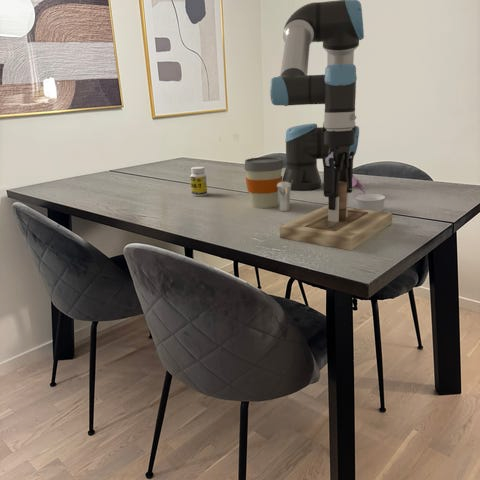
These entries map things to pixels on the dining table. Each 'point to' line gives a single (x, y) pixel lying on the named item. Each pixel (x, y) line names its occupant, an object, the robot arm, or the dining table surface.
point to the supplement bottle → (198, 181)
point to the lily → (357, 184)
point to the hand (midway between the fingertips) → (337, 218)
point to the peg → (342, 200)
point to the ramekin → (370, 202)
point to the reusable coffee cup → (263, 180)
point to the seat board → (343, 236)
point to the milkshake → (284, 195)
